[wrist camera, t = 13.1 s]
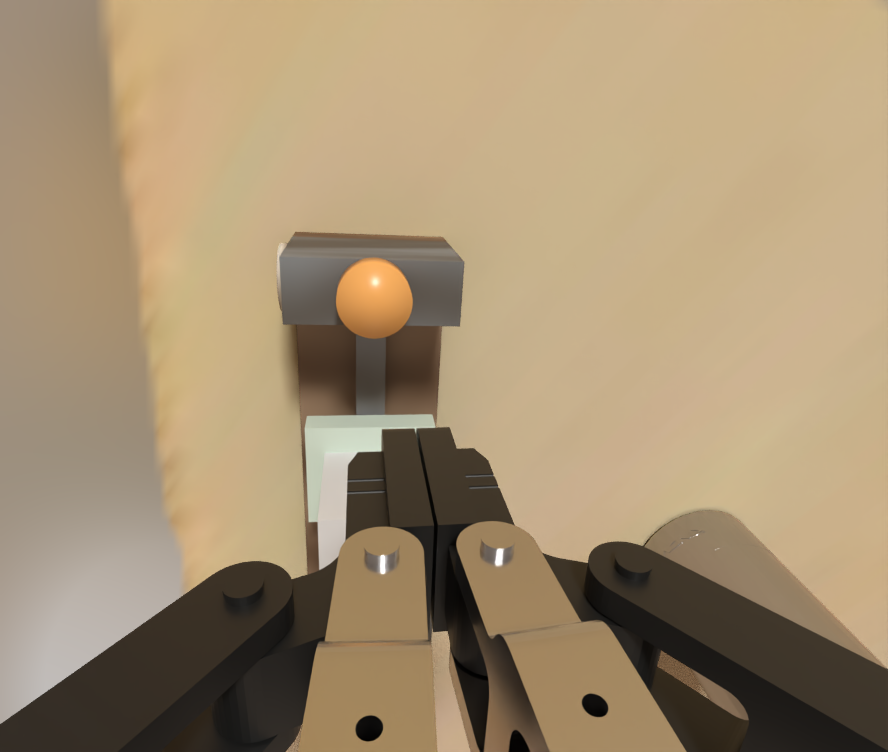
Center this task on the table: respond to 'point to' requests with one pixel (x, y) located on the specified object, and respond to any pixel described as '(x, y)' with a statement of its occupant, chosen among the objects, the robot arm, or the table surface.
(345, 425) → the carriage
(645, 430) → the table surface
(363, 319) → the gauge button
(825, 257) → the table surface
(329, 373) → the rail
